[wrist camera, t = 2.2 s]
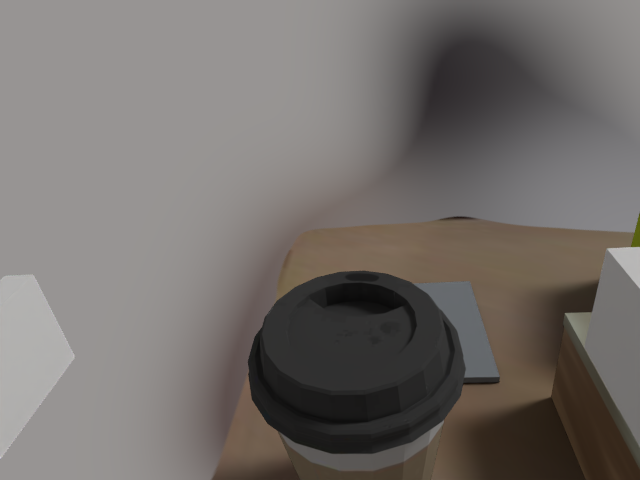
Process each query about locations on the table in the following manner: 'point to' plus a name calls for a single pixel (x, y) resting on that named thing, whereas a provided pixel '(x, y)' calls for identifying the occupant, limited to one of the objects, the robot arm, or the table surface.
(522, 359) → the table surface
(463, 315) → the slate mat
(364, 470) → the coffee cup
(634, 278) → the robot arm
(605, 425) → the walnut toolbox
